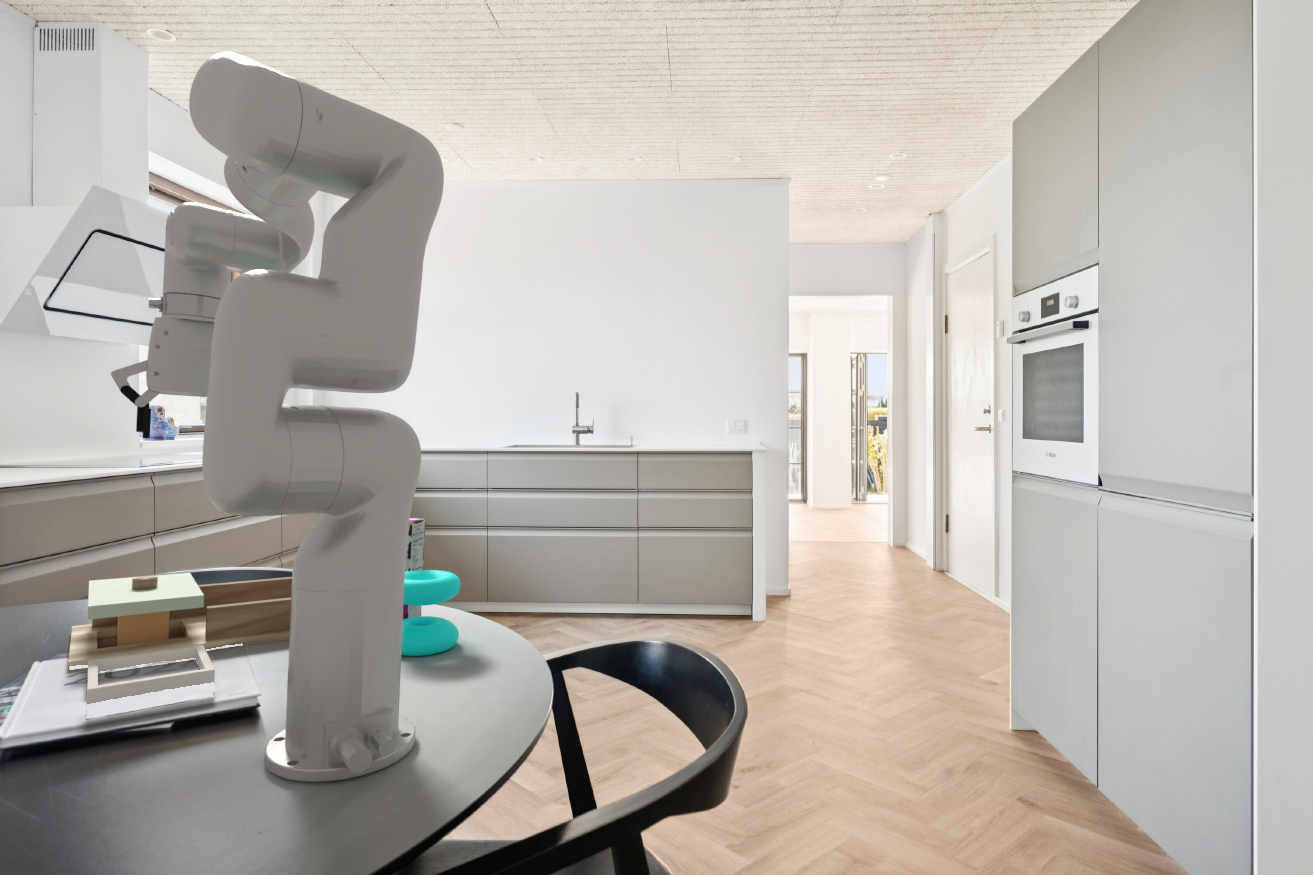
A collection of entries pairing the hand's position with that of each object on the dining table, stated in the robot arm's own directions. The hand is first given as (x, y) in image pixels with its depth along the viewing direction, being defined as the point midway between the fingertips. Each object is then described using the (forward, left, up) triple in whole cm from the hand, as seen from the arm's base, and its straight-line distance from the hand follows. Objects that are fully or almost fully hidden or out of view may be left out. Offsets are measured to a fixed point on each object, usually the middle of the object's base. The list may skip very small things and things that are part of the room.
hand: (190, 439), depth 91 cm
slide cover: (-2, +4, -21) cm, 21 cm away
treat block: (-2, +4, -26) cm, 26 cm away
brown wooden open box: (-2, -2, -28) cm, 28 cm away
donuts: (-18, -26, -28) cm, 42 cm away
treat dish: (-18, +4, -28) cm, 33 cm away
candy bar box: (-4, -25, -28) cm, 37 cm away
